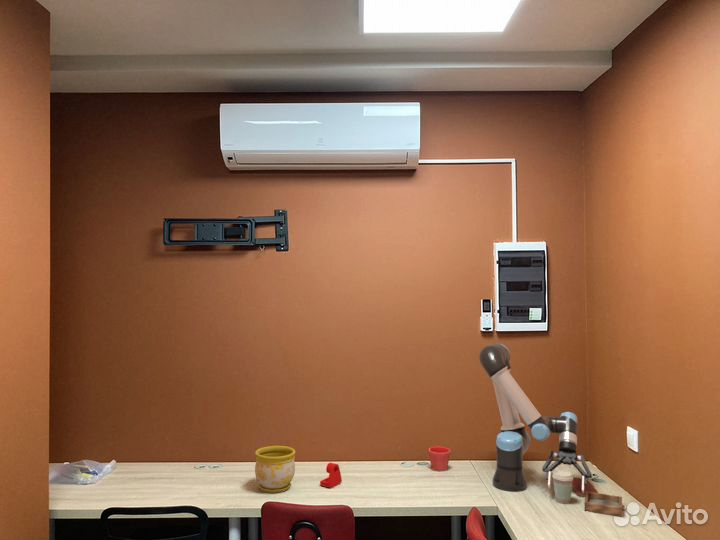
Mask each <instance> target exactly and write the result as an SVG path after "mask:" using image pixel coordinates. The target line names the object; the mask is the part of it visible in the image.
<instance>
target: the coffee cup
mask: <svg viewBox="0 0 720 540" xmlns="http://www.w3.org/2000/svg"><path fill="white" fill-rule="evenodd" d="M551 478H552V479H553V480H552V481H553V490H554V499H555V502H556V501H557V503H558V502H559V504H561V503H565V504H564V505H568V503H569V504H570V503H571V499H572V498H571V496H572V490H573V486H572V481H573V478H574V476H573V473H572V472H570V471H568V470H562V469H560V470H559V469H557V470H553V473H552V475H551ZM566 503H567V504H566Z"/></svg>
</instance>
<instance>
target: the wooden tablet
mask: <svg viewBox="0 0 720 540" xmlns="http://www.w3.org/2000/svg"><path fill="white" fill-rule="evenodd" d="M580 478H581V477H573V481H572V489H573V490H574V491H575V494H576V496H577V497H578V496H579V497H578V498H584V497H585V496H586V491H588V492H594V493H599V491H598V489H597V488H595V486H594V485H593V484H592V482H591V481H590V480H589V479H588V480H589V481H590V482H591V483H590V482H589V481H588V480H587V485H584V493H582V479H580Z"/></svg>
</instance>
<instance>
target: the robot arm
mask: <svg viewBox="0 0 720 540" xmlns="http://www.w3.org/2000/svg"><path fill="white" fill-rule="evenodd" d="M478 359H479V360H478V361H479V363H480V365H481V367H482V368H483V370H484V371H485V372H486V374H487V375H488V376H489V378H490V379H491V381H492V384H493V389H494V393H495V398H496V402H497V406H498V409H499V414H500V419H501V423H502V425H501V427H500V433H498V434H497V435H496V440H495V445H496V467H495V471H494V475H493V477H492V485H493V486H494V487H495V488H497V489H499V490H502V491H508V492H521V491H524V490H526V489H527V486H528V485H527V480H526V476H525V474H524V470H523V467H524V466H523V461H524V460H523V456H524V454H525V453H526V452H527V451H528V449H529V448H530V445H531V437H530V434H529V433H528V432H527V430H526V426H525V424H526V425H527V427H528V428H529V429H530V431H531V436H532V438H533V439H534V440H536V441H538V442H543V441H546V440H547V439H549V437H550V435H551V434H558V435H559V436H558V437H559V438H558V439H559V440H558V443H559V444H558V452H557V453H556V452H555V451H553V450H551V452H550V456H548V458H547V460H546V461H545V462H544V464H543V465H542V467H541V469H542V472H543V473H544V472H545V480H547V481H548V482H547V488H548V489H551V485H552V484H551V483H552V480H551V479H552V471H553V472H554V471H555V469H556V468H557V467H559V465H561V464H563V465H568V466H572V465H573V467H574V468H575V469H576V470H577V471H578V472H579V473H580V475H581V476H582V477H581V478H582V493H584V485H587V479H591V478H593V475H592V472H591V470H590V468H589V467H588V465H587V463H586V460H585V456H584V454H580V455H578V454H577V449H578V446H577V445H578V416H577V414H575V413H574V412H570V411H565V412H562V413H561V414H560V416H546V415H542V414H540V412H539V411H538V409H537V408H536V407H535V406H534V404H533V403H532V402H531V399H529V397H528V396H527V394H526V393H525V392H524V391H523V389H522V388H521V386H520V385H519V384H518V382H516V380H515V378H514V377H513V376H512V374H511V370H512V367H511V363H510V359H511V353H510V351H509V349H508V347H507V346H505V345H504V344H502V343H491V344H490V345H486V346H484V347H483V348H482V349H481V350H480V352H479V355H478ZM520 417H521V418H522V420H523V421H524V422H525V423H522V422H521V418H520ZM556 457H557V459H556V460H555V461H554V462H553V460H554V459H555V458H556ZM578 460H579V462H581V465H582V466H581V465H579V463H578ZM552 462H553V463H552ZM582 467H583V468H584V469H583V468H582Z"/></svg>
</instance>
